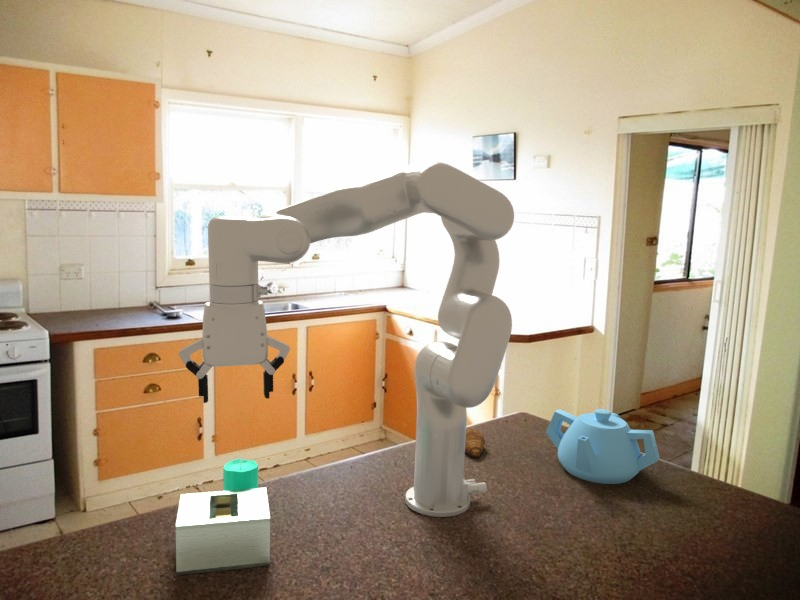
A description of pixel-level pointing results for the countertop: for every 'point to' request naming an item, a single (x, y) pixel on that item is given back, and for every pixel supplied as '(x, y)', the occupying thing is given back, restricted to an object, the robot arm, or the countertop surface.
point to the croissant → (474, 443)
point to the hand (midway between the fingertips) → (236, 398)
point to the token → (223, 512)
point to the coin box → (222, 531)
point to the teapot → (601, 446)
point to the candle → (240, 475)
